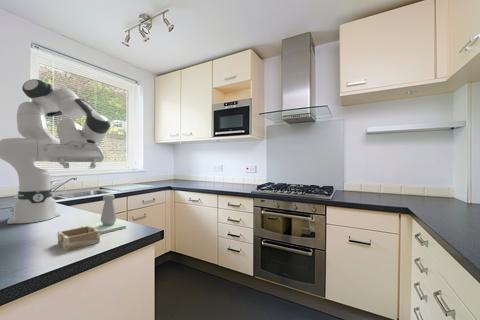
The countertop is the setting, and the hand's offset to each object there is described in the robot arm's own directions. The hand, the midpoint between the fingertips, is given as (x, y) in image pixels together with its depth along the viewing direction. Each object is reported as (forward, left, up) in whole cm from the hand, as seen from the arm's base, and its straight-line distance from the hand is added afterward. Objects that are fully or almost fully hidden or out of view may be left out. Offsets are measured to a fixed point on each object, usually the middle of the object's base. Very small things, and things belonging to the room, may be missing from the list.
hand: (80, 167), depth 91 cm
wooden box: (+18, -6, -26) cm, 32 cm away
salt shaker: (+6, +8, -25) cm, 27 cm away
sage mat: (+7, +6, -26) cm, 28 cm away
